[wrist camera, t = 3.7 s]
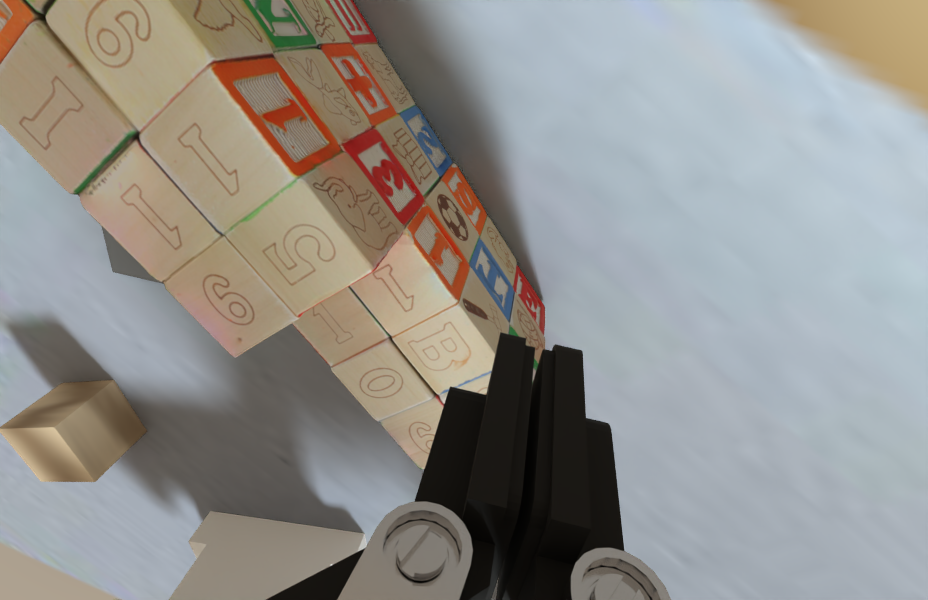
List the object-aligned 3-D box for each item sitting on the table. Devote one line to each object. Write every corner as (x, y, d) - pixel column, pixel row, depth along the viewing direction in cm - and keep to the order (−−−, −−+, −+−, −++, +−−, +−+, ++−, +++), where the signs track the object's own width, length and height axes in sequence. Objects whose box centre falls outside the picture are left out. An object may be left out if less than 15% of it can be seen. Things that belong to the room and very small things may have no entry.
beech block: (114, 379, 36) (54, 427, 32) (147, 430, 38) (95, 481, 34) (62, 382, 37) (-3, 428, 33) (97, 431, 40) (40, 481, 35)
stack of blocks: (550, 306, 27) (547, 494, 16) (455, 349, 29) (398, 538, 18) (286, -109, 19) (-34, -263, 9) (189, -5, 22) (-153, -28, 11)
